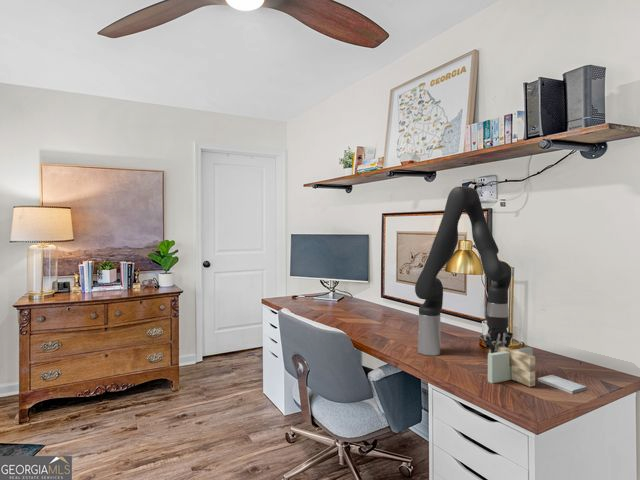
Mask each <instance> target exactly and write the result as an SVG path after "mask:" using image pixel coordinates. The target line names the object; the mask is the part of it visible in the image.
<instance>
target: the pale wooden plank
mask: <svg viewBox="0 0 640 480" xmlns="http://www.w3.org/2000/svg"><path fill="white" fill-rule="evenodd" d="M493 347H494V345H493ZM501 351H507V352H509V364H510V365H512V379H511V380H513V381H515V382H518V383H520V384H523V385H524V386H527V387H531V388H532V387H534V386H536V356H534V355H533V356H531V355H528V354H525V353H522V352H519V351H516V350H513V348H510V347H508V348H507V347H504V346H501V345H498V348H497V352H501ZM490 353H491V350H490V349H488V354H490Z"/></svg>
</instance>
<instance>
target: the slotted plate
mask: <svg viewBox="0 0 640 480" xmlns="http://www.w3.org/2000/svg"><path fill="white" fill-rule="evenodd" d="M512 349H513V348H512ZM533 349H534V348H532V347H530V346H526V347H520V348H516V349H513V350H516V351H519V352H522V353H525V354H528V355H531V356H534V354H533ZM509 380H513V379H512V365H510V364H509V352H507V351H501V352H496V353H490V354H489V353H487V382H488V383H490V384H497V383H501V382H506V381H509Z"/></svg>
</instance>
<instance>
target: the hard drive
mask: <svg viewBox="0 0 640 480" xmlns="http://www.w3.org/2000/svg"><path fill="white" fill-rule="evenodd" d="M537 381H538V382H540V383H542V384H545V385H548V386H551V387H553V388H556V389H559V390H561V391H563V392H566V393H568V394H571V395H572V394H573V395H574V394H576V393H580V392H581V393H582V392H583V391H587V390H588V386H586V385H583V384H580V383H576V382H574V381H572V380H568V379H565V378H562V377H560V376H556V375H554V374H549V375H545V376H541V377H538V378H537Z"/></svg>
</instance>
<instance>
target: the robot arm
mask: <svg viewBox="0 0 640 480" xmlns="http://www.w3.org/2000/svg"><path fill="white" fill-rule="evenodd" d="M464 211H465V213H466V214H467V216H468V219H469V222H470V225H471V236H472V240H473V243H474V244H475V248H476V250H477V252H478V254H479V256H480V262H481V267H482V270H483V273H484V274H485V276H486V277H487V279H488V280H490V281H492V282H491V286H489V287H488V290H487V303H486V304H487V305H486V306H487V307H486V326H487V328H488V330H487V333H486V334H483V335H481V337H482V340H483V343H484V345H485V347H486V349H488V350H489V349H490V350H491V353H496V352H497V348H498V345H501V346H504V347H507V348H509V347H510V344H511V341H512V337H513V335H514V333H512V332H510V331H508V328H509V326H510V325H509V321H510V320H509V318H510V316H509V315H510V314H509V311H510V309H509V308H510V307H509V289H510V284H511V279H512V269H511V266H510V265H509V263H507V262H506V261H500V259H499V257H498V254H499V252H500V251H499V247H498V245H497V243H496V240H495V238H494V237H493V235H492V232H491V230H490V227H489V225H488V222H487V219H486V216H485V213H484V210H483V206H482V203H481V198H480V196H479V193H478V191H477V189H475V188H474V187H470V186H455V187H453V188H452V189H451V190H450V192H449V193H448V196H447V200H446V203H445V206H444V211H443V214H442V218H441V221H440V223H439V227H438V229H437V232H436V235H435V237H434V239H433V242H432V244H431V248H430V251H429V253H428V255H427V259H426V261H425V264H424V266H423V268H422V270H421V272H420V274H419V276H418V278H417V280H416V283H415V286H414V293H415V295H416V297H417V298H418V299H420V300H424V302H423V303H422V305H420V306H419V307H418V331H417V353H418V354H421V355H425V356H433V357H434V356H439V355H441V311H442V309H443V301H444V300H443V299H444V285H443V283H442V281H441V279H440V278H438V274H439V273H440V271H441V270H442V269H443V268H444V267H445V266H446V265H447V264H448V262H449V261H450V260H451V259H452V257H453V255H454V253H455V252H456V248H457V246H458V242H459V231H458V230H459V227H458V226H459V222H460V219H461V216H462V214H463V212H464ZM493 345H494V347H493Z"/></svg>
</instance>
